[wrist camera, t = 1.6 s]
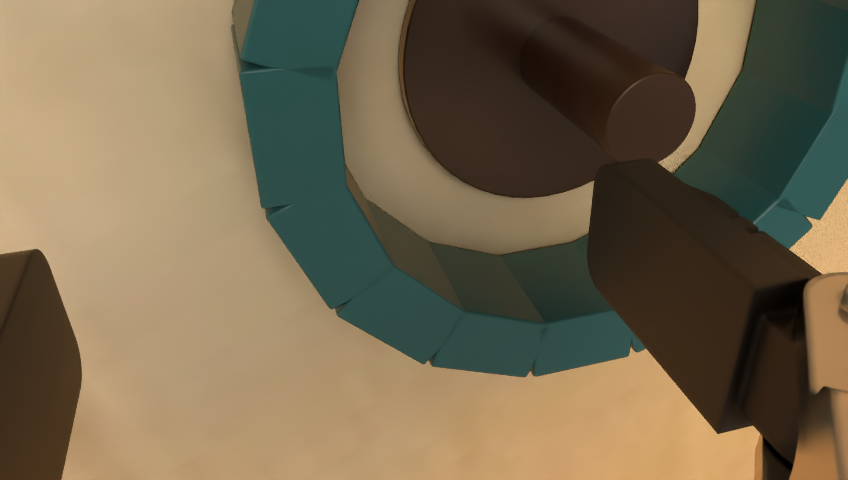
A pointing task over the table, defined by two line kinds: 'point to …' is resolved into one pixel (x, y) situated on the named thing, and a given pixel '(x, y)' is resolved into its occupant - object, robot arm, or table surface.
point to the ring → (534, 269)
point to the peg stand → (546, 87)
